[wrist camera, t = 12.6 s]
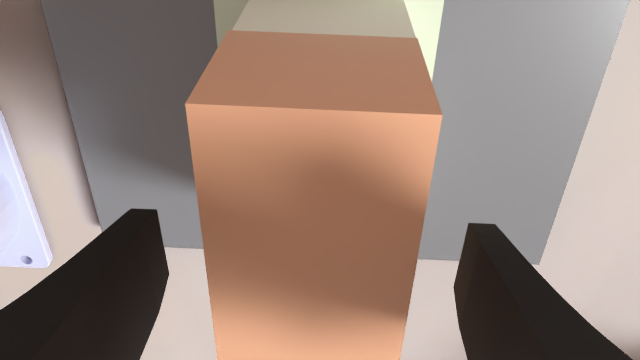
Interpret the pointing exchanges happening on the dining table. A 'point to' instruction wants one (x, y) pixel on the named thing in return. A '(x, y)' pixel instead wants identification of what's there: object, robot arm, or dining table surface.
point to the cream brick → (328, 17)
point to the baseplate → (445, 72)
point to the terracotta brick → (312, 191)
